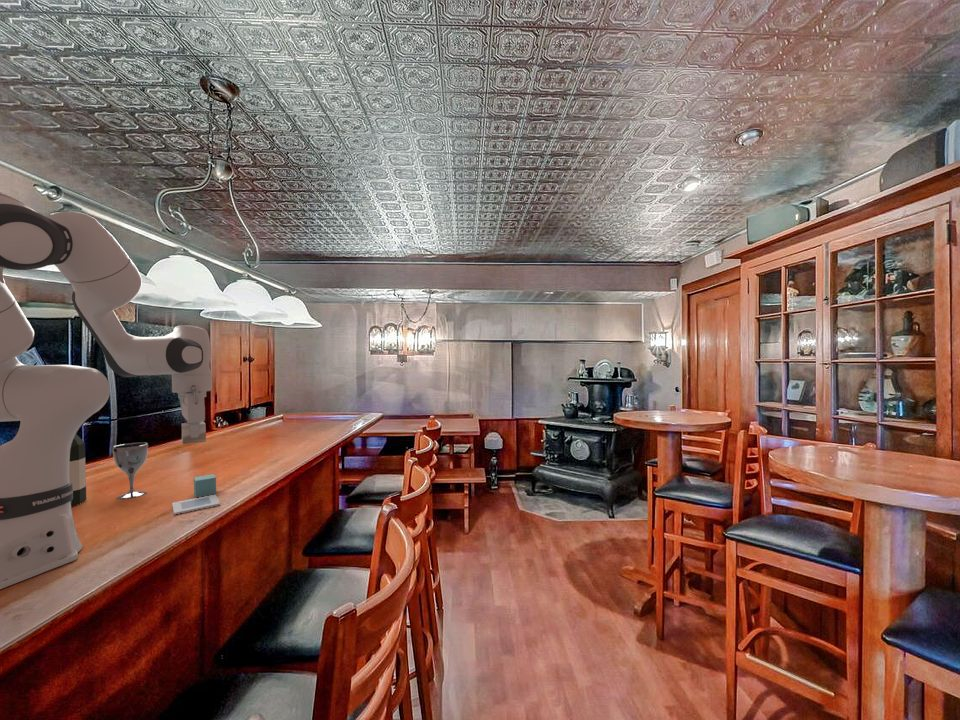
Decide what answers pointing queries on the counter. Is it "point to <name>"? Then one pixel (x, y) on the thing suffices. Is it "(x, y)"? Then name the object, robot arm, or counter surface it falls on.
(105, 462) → the counter surface
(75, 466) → the wine bottle
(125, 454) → the wine glass
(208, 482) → the teal block
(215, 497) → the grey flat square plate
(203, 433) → the off-white block
